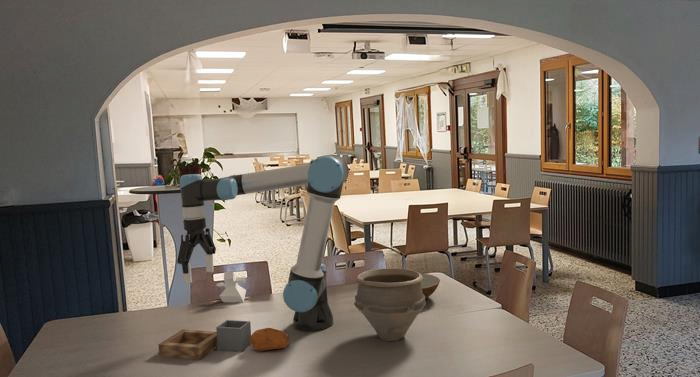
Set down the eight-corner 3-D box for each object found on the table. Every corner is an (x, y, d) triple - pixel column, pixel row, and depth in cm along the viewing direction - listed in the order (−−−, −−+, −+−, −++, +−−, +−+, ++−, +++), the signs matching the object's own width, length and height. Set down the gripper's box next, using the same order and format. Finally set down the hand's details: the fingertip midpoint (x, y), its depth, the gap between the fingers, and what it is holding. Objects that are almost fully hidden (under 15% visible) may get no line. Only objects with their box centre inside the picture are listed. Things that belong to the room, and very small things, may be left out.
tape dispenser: (221, 297, 233) (219, 267, 232) (251, 297, 232) (249, 267, 230) (214, 303, 225) (212, 272, 224) (245, 303, 223) (243, 272, 222)
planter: (344, 346, 172) (341, 281, 170) (367, 320, 195) (364, 263, 192) (418, 353, 163) (415, 285, 161) (433, 326, 186) (431, 266, 184)
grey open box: (251, 343, 177) (250, 321, 177) (242, 352, 171) (240, 328, 170) (228, 342, 180) (226, 319, 179) (217, 350, 173) (216, 327, 172)
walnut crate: (221, 343, 179) (221, 332, 179) (200, 359, 166) (199, 347, 166) (183, 340, 184) (182, 329, 183) (159, 356, 171) (158, 344, 170)
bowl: (445, 307, 206) (444, 287, 206) (382, 309, 207) (381, 290, 206) (435, 289, 231) (435, 271, 231) (379, 291, 232) (379, 273, 231)
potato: (254, 345, 176) (253, 325, 176) (291, 344, 175) (290, 324, 174) (248, 354, 169) (247, 333, 168) (287, 353, 168) (286, 332, 167)
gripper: (205, 212, 195) (209, 267, 197) (162, 224, 172) (168, 286, 174) (222, 212, 193) (227, 268, 195) (181, 224, 169) (187, 287, 171)
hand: (199, 276), depth 184 cm, fingers open, 13 cm apart
